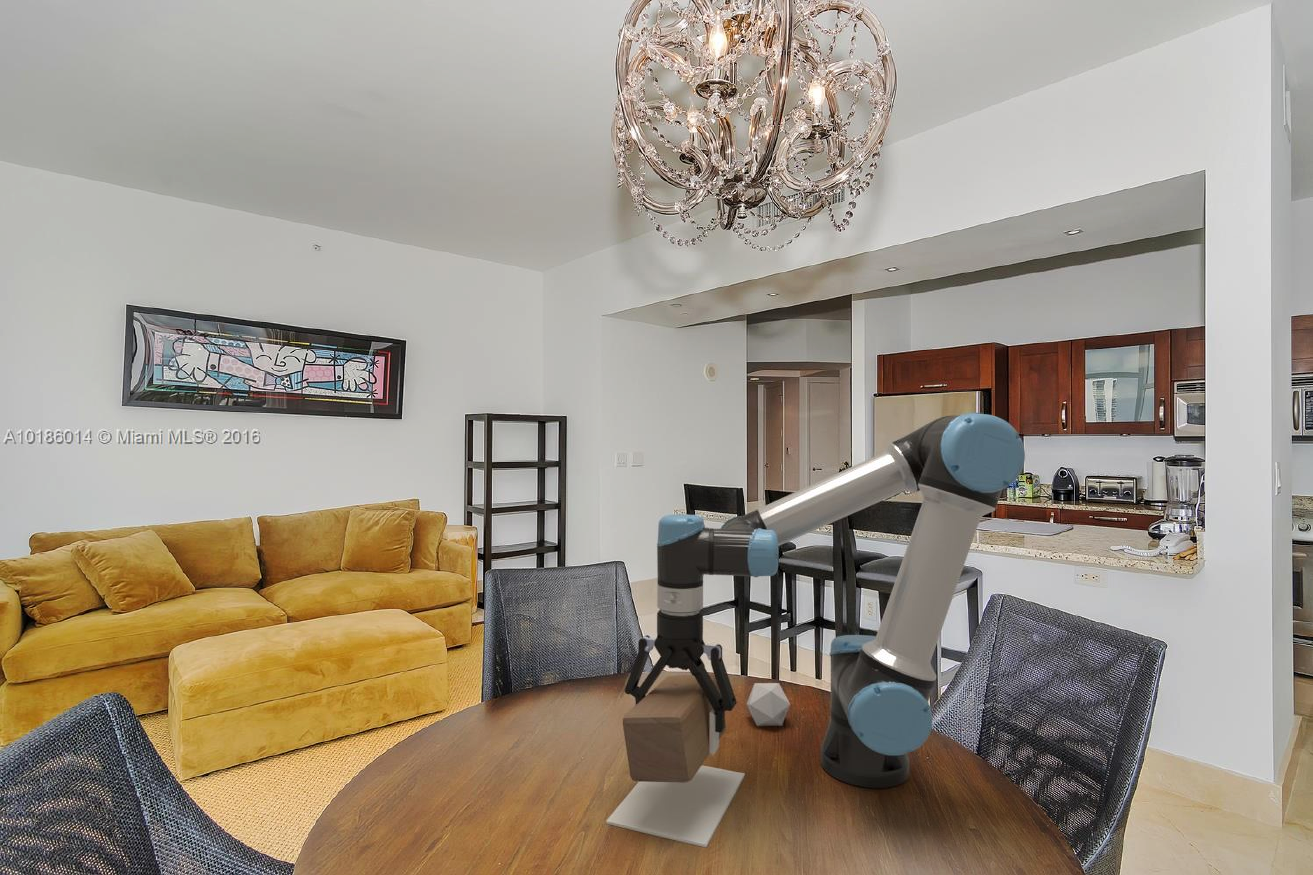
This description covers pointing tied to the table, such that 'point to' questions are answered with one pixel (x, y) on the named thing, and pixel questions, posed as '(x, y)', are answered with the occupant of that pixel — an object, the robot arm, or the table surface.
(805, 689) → the table surface
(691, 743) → the wooden block
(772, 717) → the die
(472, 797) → the table surface
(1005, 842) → the table surface
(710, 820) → the white mat
